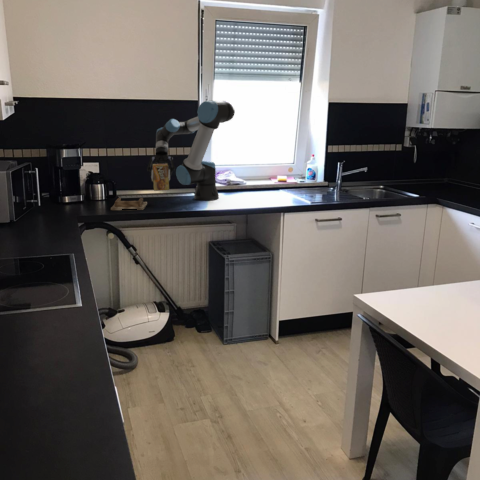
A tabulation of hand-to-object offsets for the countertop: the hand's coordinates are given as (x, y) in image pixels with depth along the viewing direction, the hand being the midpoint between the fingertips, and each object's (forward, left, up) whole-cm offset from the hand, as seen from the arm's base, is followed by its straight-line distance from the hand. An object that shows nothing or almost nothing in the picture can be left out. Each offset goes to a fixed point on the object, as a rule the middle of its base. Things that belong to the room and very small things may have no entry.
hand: (160, 179), depth 313 cm
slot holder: (+18, +9, -14) cm, 24 cm away
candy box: (0, -1, -7) cm, 7 cm away
